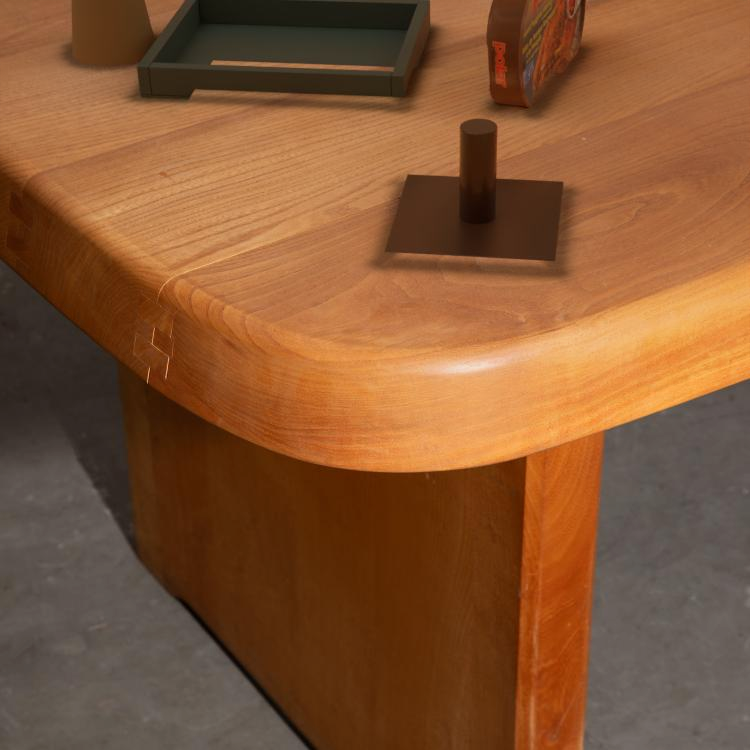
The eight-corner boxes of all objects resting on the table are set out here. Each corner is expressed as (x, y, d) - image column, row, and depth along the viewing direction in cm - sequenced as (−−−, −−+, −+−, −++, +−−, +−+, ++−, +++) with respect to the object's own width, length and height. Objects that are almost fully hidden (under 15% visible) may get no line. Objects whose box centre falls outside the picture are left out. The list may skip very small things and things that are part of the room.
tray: (430, 34, 105) (430, -1, 103) (404, 114, 94) (403, 76, 92) (193, 26, 107) (190, -8, 106) (141, 103, 96) (136, 66, 95)
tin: (525, 133, 91) (529, 3, 86) (477, 126, 92) (478, -3, 87) (587, 45, 102) (594, -74, 97) (544, 40, 103) (549, -79, 98)
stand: (562, 199, 83) (568, 94, 80) (554, 280, 76) (559, 168, 72) (407, 192, 85) (406, 88, 81) (384, 270, 77) (381, 160, 74)
